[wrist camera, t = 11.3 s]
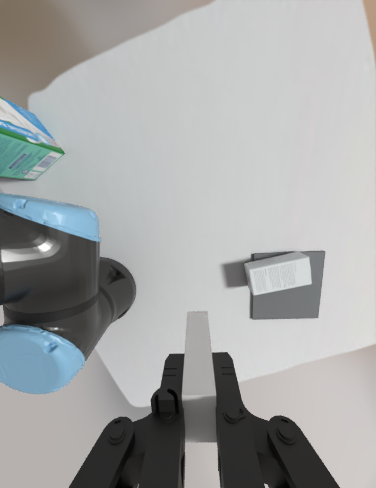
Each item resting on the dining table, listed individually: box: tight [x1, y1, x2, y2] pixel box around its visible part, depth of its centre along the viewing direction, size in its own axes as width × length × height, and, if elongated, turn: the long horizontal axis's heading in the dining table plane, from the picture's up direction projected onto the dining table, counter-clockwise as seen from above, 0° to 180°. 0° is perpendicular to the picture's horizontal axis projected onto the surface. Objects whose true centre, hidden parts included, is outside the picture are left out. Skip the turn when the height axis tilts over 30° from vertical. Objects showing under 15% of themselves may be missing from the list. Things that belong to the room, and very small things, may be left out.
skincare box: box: [244, 252, 312, 295], centre depth 42 cm, size 6×4×12 cm
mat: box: [252, 251, 325, 320], centre depth 45 cm, size 15×16×1 cm
